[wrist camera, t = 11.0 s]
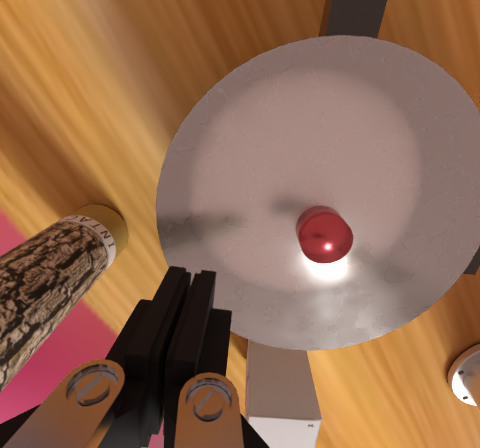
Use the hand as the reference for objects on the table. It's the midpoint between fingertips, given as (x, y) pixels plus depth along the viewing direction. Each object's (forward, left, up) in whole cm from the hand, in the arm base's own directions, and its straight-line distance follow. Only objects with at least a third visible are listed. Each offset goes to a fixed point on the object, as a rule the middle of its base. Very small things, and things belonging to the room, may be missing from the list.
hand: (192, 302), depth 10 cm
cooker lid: (-7, 0, -10) cm, 12 cm away
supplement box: (-9, +24, -22) cm, 34 cm away
